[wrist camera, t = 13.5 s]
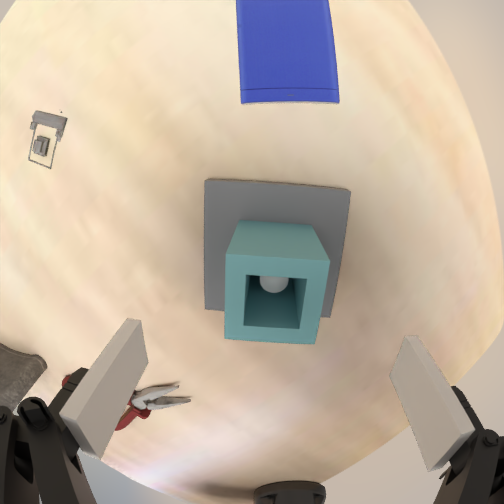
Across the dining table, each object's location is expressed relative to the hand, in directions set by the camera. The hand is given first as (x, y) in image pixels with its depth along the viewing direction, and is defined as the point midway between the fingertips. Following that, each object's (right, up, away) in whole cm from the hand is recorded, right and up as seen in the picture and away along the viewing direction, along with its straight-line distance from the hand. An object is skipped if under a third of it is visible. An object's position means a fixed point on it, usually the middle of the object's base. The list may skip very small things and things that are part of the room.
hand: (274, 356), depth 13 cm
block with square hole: (+1, +5, +12) cm, 13 cm away
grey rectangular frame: (-25, +21, +10) cm, 34 cm away
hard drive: (+2, +23, +7) cm, 25 cm away
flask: (-41, -13, +23) cm, 49 cm away
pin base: (+1, +5, +13) cm, 14 cm away
